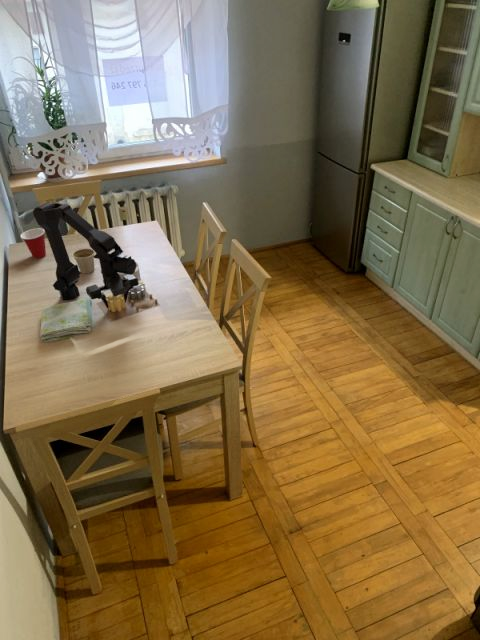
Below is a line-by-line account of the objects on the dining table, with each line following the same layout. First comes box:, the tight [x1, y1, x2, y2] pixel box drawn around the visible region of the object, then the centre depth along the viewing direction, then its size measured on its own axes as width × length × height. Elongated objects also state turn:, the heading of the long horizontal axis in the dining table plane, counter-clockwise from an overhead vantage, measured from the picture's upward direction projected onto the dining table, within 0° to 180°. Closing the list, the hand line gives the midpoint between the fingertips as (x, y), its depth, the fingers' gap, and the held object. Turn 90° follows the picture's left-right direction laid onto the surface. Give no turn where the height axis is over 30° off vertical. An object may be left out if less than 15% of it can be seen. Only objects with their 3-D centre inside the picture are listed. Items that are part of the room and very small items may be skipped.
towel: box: [39, 297, 93, 343], centre depth 172 cm, size 18×21×5 cm
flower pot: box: [71, 247, 96, 274], centre depth 206 cm, size 9×9×9 cm
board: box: [95, 289, 160, 323], centre depth 182 cm, size 20×16×3 cm
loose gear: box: [106, 292, 126, 312], centre depth 178 cm, size 7×7×6 cm
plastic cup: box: [19, 227, 47, 260], centre depth 218 cm, size 11×11×12 cm
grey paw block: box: [119, 262, 142, 281], centre depth 197 cm, size 10×13×9 cm
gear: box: [128, 285, 146, 299], centre depth 186 cm, size 7×7×4 cm
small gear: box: [138, 280, 146, 289], centre depth 192 cm, size 4×4×3 cm
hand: (116, 305), depth 179 cm, fingers closed on loose gear, 7 cm apart
